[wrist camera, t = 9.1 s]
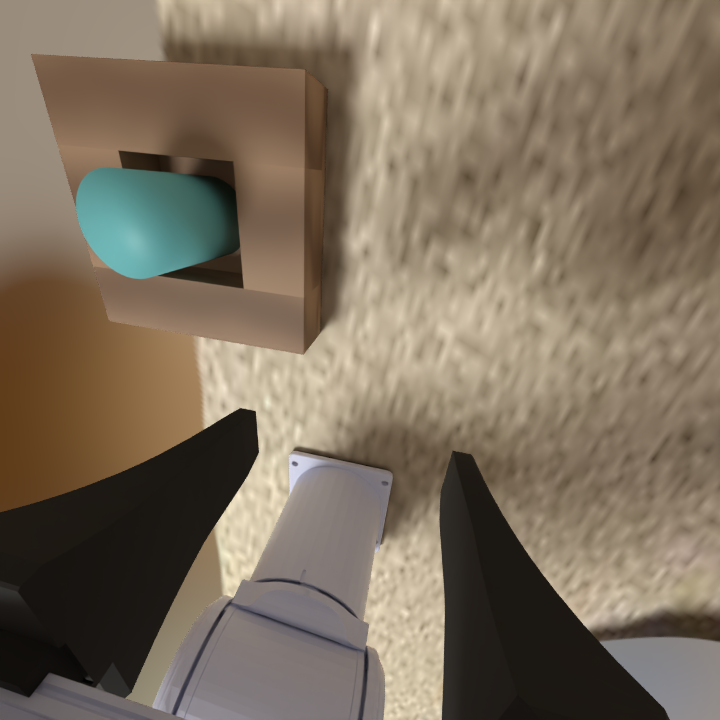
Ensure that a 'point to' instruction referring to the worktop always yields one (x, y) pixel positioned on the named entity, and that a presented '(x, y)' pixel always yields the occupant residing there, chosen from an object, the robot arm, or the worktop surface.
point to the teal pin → (156, 219)
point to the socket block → (210, 158)
